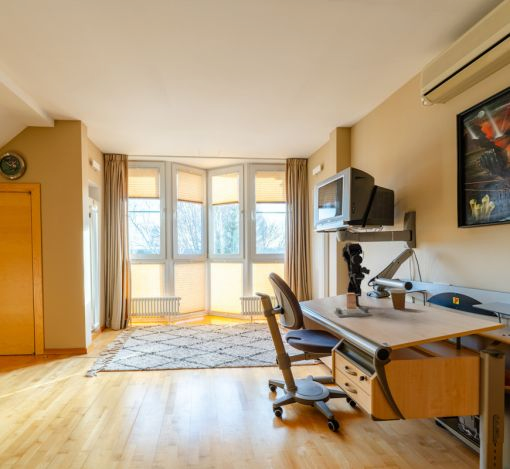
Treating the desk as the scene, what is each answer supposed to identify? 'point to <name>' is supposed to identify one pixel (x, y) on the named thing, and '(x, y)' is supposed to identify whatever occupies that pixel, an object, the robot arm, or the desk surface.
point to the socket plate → (352, 312)
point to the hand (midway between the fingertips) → (356, 288)
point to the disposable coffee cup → (398, 297)
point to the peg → (351, 300)
